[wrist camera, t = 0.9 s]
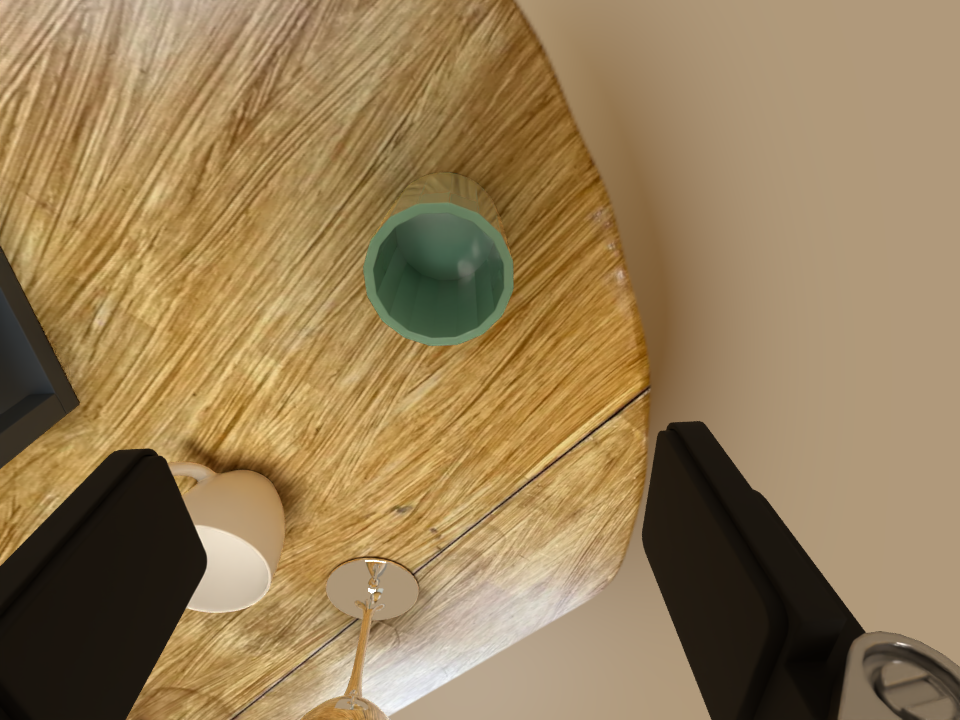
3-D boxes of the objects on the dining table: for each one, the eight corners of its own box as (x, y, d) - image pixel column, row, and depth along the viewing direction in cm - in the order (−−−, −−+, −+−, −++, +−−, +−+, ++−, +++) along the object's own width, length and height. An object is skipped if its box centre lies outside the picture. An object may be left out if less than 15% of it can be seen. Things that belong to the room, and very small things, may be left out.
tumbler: (383, 174, 26) (353, 206, 19) (499, 169, 26) (513, 199, 19) (396, 285, 28) (375, 349, 21) (501, 280, 29) (513, 342, 22)
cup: (247, 544, 38) (207, 628, 32) (140, 459, 34) (71, 538, 28) (325, 502, 36) (298, 583, 30) (221, 407, 32) (166, 479, 26)
